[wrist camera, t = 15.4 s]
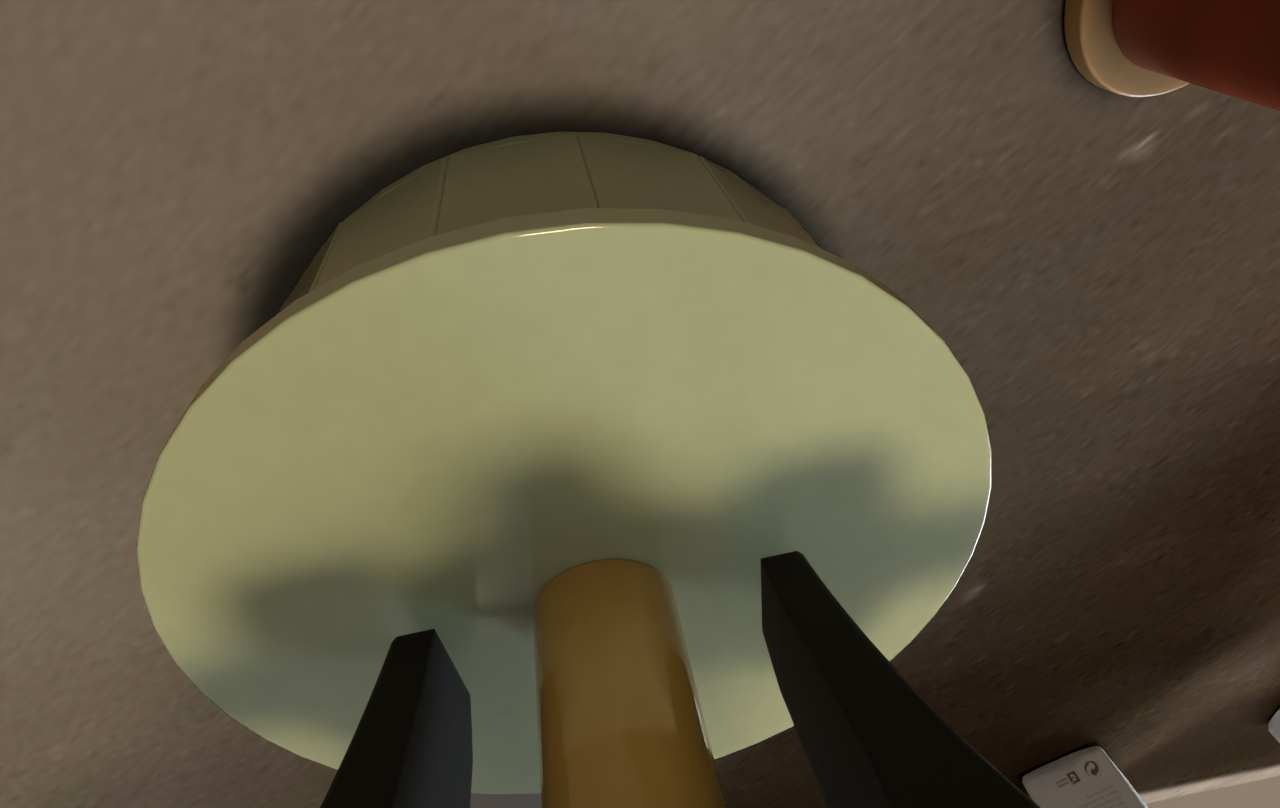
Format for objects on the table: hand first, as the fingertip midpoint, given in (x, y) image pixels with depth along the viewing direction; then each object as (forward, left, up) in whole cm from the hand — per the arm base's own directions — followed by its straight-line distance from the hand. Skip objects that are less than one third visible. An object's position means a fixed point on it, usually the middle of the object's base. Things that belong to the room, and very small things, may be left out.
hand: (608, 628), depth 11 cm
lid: (0, 0, -1) cm, 1 cm away
